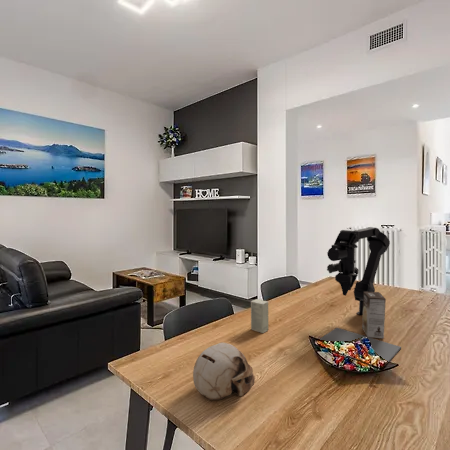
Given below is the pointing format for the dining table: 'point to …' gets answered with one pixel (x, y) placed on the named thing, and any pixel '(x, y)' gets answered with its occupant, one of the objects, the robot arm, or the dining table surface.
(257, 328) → the skincare box
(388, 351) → the mat
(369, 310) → the coffee box
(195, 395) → the dining table surface
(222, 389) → the coin bank
